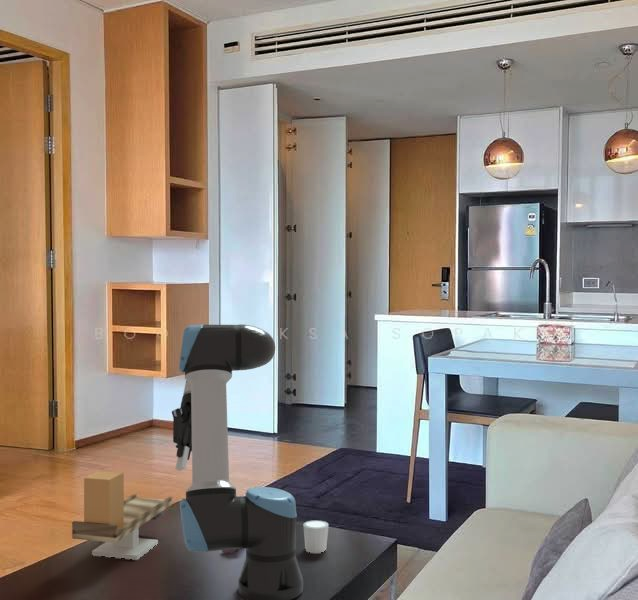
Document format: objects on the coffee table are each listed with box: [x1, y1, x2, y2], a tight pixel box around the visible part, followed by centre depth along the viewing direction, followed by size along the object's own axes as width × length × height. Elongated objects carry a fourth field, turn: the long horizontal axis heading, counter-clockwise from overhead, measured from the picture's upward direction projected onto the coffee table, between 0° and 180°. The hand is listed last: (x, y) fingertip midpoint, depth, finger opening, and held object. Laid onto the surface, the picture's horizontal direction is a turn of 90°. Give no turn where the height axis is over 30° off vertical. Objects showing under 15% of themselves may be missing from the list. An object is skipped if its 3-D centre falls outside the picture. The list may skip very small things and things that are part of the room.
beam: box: [71, 493, 173, 543], centre depth 194 cm, size 32×12×7 cm, turn 167°
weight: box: [83, 470, 125, 531], centre depth 183 cm, size 7×7×14 cm
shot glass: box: [302, 520, 330, 554], centre depth 196 cm, size 7×7×7 cm
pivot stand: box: [91, 527, 159, 561], centre depth 195 cm, size 12×13×6 cm
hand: (180, 468), depth 206 cm, fingers closed
